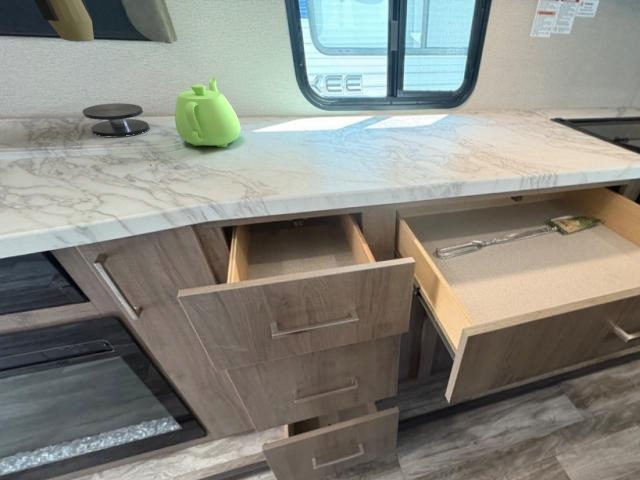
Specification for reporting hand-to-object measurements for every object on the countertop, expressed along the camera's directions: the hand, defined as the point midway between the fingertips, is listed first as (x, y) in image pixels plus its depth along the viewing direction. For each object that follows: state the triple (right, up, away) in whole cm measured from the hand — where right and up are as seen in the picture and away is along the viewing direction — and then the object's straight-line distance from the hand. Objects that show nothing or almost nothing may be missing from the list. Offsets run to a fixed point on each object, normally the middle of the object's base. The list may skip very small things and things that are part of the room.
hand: (69, 19), depth 75 cm
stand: (-2, -16, +17) cm, 24 cm away
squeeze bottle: (0, -3, +3) cm, 4 cm away
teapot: (+24, -19, +17) cm, 35 cm away
